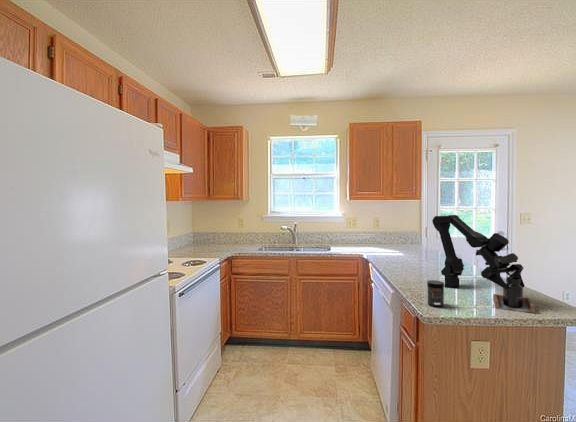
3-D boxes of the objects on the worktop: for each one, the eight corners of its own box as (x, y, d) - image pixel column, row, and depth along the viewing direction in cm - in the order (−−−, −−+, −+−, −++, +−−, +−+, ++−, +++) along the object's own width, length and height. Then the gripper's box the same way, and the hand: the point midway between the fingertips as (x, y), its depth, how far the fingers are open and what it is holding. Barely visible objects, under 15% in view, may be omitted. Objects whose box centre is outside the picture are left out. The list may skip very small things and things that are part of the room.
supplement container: (440, 302, 134) (440, 280, 134) (446, 308, 127) (446, 284, 127) (425, 302, 135) (424, 280, 134) (430, 307, 128) (430, 284, 128)
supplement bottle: (522, 309, 122) (523, 281, 122) (502, 306, 127) (502, 278, 126) (522, 305, 128) (523, 277, 127) (503, 301, 132) (503, 275, 132)
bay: (495, 308, 126) (495, 301, 126) (493, 300, 136) (493, 293, 136) (534, 313, 119) (534, 306, 119) (529, 304, 129) (529, 297, 129)
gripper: (486, 248, 128) (512, 279, 118) (519, 246, 133) (546, 275, 122) (471, 263, 136) (493, 293, 125) (502, 260, 141) (526, 289, 130)
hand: (515, 287), depth 126 cm, fingers open, 9 cm apart
